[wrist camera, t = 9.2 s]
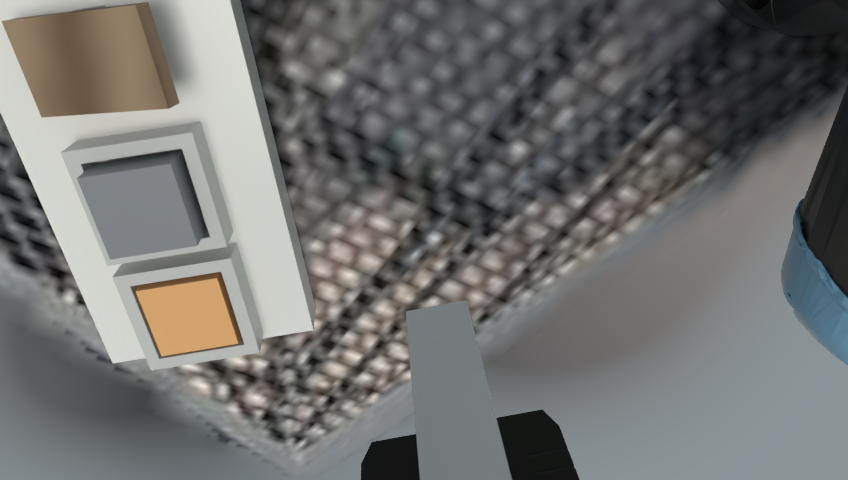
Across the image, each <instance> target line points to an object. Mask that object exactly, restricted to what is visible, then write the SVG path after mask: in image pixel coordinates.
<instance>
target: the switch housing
mask: <svg viewBox="0 0 848 480" xmlns="http://www.w3.org/2000/svg"><path fill="white" fill-rule="evenodd" d="M144 2H148V3H149V6H150V9H151V12H152V16H153V19H154V22H155V25H156V28H157V32H158V35H159V38H160V41H161V45H162V48H163V51H164V54H165V57H166V61H167V64H168V67H169V70H170V74H171V77H172V80H173V83H174V86H175V90H176V93H177V96H178V99H179V104H177V105H175V106H173V107H171V108H169V109H157V110H143V111H128V112H114V113H100V114H85V115H71V116H57V117H41V115H40V112H39V110H38V108H37V105H36V103H35V100H34V98H33V96H32V93H31V91H30V88H29V86H28V84H27V81H26V79H25V76H24V74H23V72H22V69H21V67H20V64H19V62H18V60H17V57H16V55H15V53H14V50H13V48H12V45H11V43H10V41H9V38H8V36H7V33H6V31H5V29H4V26H3V24H2V21H5V20H10V19H15V18H22V17H30V16H38V15H46V14H54V13H62V12H71V11H79V10H87V9H95V8H103V7H111V6H119V5H128V4H136V3H144ZM0 112H1V115H2V117H3V119H4V121H5V124H6V126H7V128H8V130H9V133H10V135H11V137H12V139H13V142H14V144H15V146H16V148H17V150H18V153H19V155H20V157H21V159H22V162H23V164H24V166H25V168H26V171H27V173H28V175H29V177H30V179H31V182H32V184H33V186H34V188H35V191H36V193H37V195H38V197H39V200H40V202H41V204H42V206H43V209H44V211H45V213H46V215H47V217H48V220H49V222H50V224H51V226H52V229H53V231H54V233H55V235H56V238H57V240H58V242H59V244H60V247H61V249H62V251H63V253H64V255H65V258H66V260H67V262H68V264H69V267H70V269H71V271H72V273H73V276H74V278H75V280H76V282H77V284H78V287H79V289H80V291H81V293H82V296H83V298H84V300H85V302H86V305H87V307H88V309H89V311H90V314H91V316H92V318H93V320H94V322H95V325H96V327H97V329H98V331H99V334H100V336H101V338H102V340H103V343H104V345H105V347H106V349H107V351H108V354H109V356H110V358H111V360H112V363H118V362H124V361H130V360H136V359H142V358H146V360H147V362H148V365H149V367H150V370H151V371H152V370H158V369H164V368H170V367H176V366H182V365H188V364H194V363H200V362H206V361H212V360H218V359H224V358H230V357H236V356H242V355H248V354H254V353H260V348H261V344H262V339H263V338H268V337H274V336H280V335H286V334H292V333H298V332H305V331H311V330H314V319H315V308H316V306H315V302H314V298H313V294H312V290H311V286H310V282H309V278H308V274H307V270H306V266H305V262H304V258H303V253H302V249H301V245H300V241H299V237H298V233H297V229H296V225H295V221H294V217H293V213H292V209H291V205H290V201H289V197H288V192H287V188H286V184H285V180H284V176H283V172H282V168H281V164H280V160H279V156H278V152H277V148H276V144H275V140H274V135H273V131H272V127H271V123H270V119H269V115H268V111H267V107H266V103H265V99H264V95H263V91H262V87H261V83H260V79H259V74H258V70H257V66H256V62H255V58H254V54H253V50H252V46H251V42H250V38H249V34H248V30H247V26H246V22H245V17H244V13H243V9H242V5H241V1H240V0H0ZM178 150H182V153H183V156H184V159H185V162H186V165H187V168H188V172H189V175H190V178H191V181H192V184H193V187H194V190H195V193H196V197H197V200H198V203H199V206H200V209H201V212H202V215H203V218H204V222H205V225H206V230H205V232H204V234H203V236H202V238H201V240H200V242H199V244H198V246H193V247H187V248H181V249H174V250H168V251H162V252H155V253H149V254H143V255H137V256H130V257H124V258H118V259H112V260H110V258H109V256H108V253H107V251H106V248H105V246H104V244H103V241H102V239H101V236H100V234H99V231H98V229H97V227H96V224H95V222H94V219H93V217H92V214H91V212H90V209H89V207H88V205H87V202H86V200H85V197H84V195H83V192H82V190H81V188H80V185H79V183H78V180H77V178H78V177H79V176H80V175H81V174H82V173H83V172H85V171H86V170H87V169H88V168H89V167H90V166H91V165H92V164H94V163H100V162H107V161H113V160H120V159H126V158H133V157H139V156H146V155H152V154H159V153H165V152H172V151H178ZM216 272H221V273H222V276H223V279H224V282H225V285H226V288H227V291H228V295H229V298H230V301H231V304H232V307H233V310H234V313H235V317H236V320H237V323H238V326H239V329H240V332H241V336H240V339H239V343H238V344H233V345H227V346H221V347H215V348H209V349H203V350H197V351H191V352H185V353H179V354H173V355H167V356H161V354H160V351H159V349H158V346H157V344H156V341H155V339H154V336H153V334H152V331H151V329H150V326H149V324H148V321H147V319H146V316H145V314H144V311H143V309H142V306H141V304H140V301H139V299H138V296H137V294H136V290H137V288H138V287H139V285H142V284H148V283H154V282H161V281H167V280H173V279H179V278H185V277H192V276H198V275H204V274H210V273H216Z"/></svg>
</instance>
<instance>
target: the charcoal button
mask: <svg viewBox="0 0 848 480" xmlns="http://www.w3.org/2000/svg"><path fill="white" fill-rule="evenodd" d="M77 180H78V183H79V185H80V188H81V190H82V192H83V195H84V197H85V200H86V202H87V205H88V207H89V209H90V212H91V214H92V217H93V219H94V222H95V224H96V227H97V229H98V231H99V234H100V236H101V239H102V241H103V244H104V246H105V248H106V251H107V253H108V256H109V258H110V260H112V259H118V258H124V257H130V256H137V255H143V254H149V253H155V252H162V251H168V250H174V249H181V248H187V247H193V246H198V244H199V242H200V240H201V238H202V236H203V234H204V232H205V230H206V225H205V222H204V218H203V215H202V212H201V209H200V206H199V203H198V200H197V197H196V193H195V190H194V187H193V184H192V181H191V178H190V175H189V172H188V168H187V165H186V162H185V159H184V156H183V153H182V150H178V151H172V152H165V153H159V154H152V155H146V156H139V157H133V158H126V159H120V160H113V161H107V162H100V163H94V164H92V165H91V166H90V167H89V168H88V169H87V170H86V171H85V172H83V173H82V174H81V175H80V176H79V177H78V178H77Z"/></svg>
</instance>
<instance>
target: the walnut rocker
mask: <svg viewBox="0 0 848 480" xmlns="http://www.w3.org/2000/svg"><path fill="white" fill-rule="evenodd" d="M2 24H3V26H4V29H5V31H6V33H7V36H8V38H9V41H10V43H11V45H12V48H13V50H14V53H15V55H16V57H17V60H18V62H19V64H20V67H21V69H22V72H23V74H24V76H25V79H26V81H27V84H28V86H29V88H30V91H31V93H32V96H33V98H34V100H35V103H36V105H37V108H38V110H39V112H40V115H41V117H57V116H71V115H85V114H100V113H114V112H128V111H143V110H157V109H169V108H171V107H173V106H175V105H177V104H179V99H178V96H177V93H176V90H175V86H174V83H173V80H172V77H171V74H170V70H169V67H168V64H167V61H166V57H165V54H164V51H163V48H162V45H161V41H160V38H159V35H158V32H157V28H156V25H155V22H154V19H153V16H152V12H151V9H150V6H149V3H148V2H144V3H136V4H128V5H119V6H111V7H103V8H95V9H87V10H79V11H71V12H62V13H54V14H46V15H38V16H30V17H22V18H15V19H10V20H5V21H2Z"/></svg>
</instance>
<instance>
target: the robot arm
mask: <svg viewBox="0 0 848 480" xmlns="http://www.w3.org/2000/svg"><path fill="white" fill-rule="evenodd" d="M719 1H720V2H721V3H722V5H723V6H724V7H725V8H726V9H727V10H728V11H730V12H731V13H732V14H733V15H734V16H736V17H737V18H739V19H740V20H742V21H744V22H745V23H747V24H750V25H752V26H754V27H757V28H760V29H765V30H769V31H773V32H778V33H782V34H787V35H797V36H812V35H823V34H828V33H833V32H837V31H841V30H845V29H848V0H719ZM793 226H794V228H793V232H792V235H791V239H790V242H789V245H788V249H787V252H786V255H785V259H784V261H783V264H782V269H781V283H782V289H783V292H784V295H785V297H786V299H787V301H788V303H789V304H790V305H791V306H792V308H793V309H794V314H795V315H796V317H797V319H798V320H799V321H800V322H801V324H802V325H803V326H804V327H805V328H806V330H807V331H808V332H809V333H810V334H811V335H812V336H813V337H814V338H815V339H816V340H817V341H818V342H819V343H820V344H822V345H823V346H824V347H825V348H826V349H827V350H828V351H830V352H831V353H832V354H833V355H835V356H836V357H837V358H839V359H840V360H841V361H843V362H844V363H846V364H847V365H848V86H847V88H846V91H845V93H844V96H843V99H842V101H841V104H840V107H839V109H838V112H837V115H836V117H835V120H834V122H833V125H832V128H831V130H830V133H829V136H828V138H827V141H826V143H825V146H824V149H823V151H822V154H821V157H820V159H819V162H818V164H817V167H816V170H815V172H814V175H813V178H812V180H811V183H810V186H809V188H808V191H807V193H806V196H805V198H804V199H802V200H801V201H800V202H799V204H798V206H797V207H796V211H795V214H794V219H793ZM406 320H407V332H408V344H409V356H410V367H411V379H412V391H413V403H414V415H415V427H416V434H415V435H409V436H403V437H398V438H392V439H387V440H381V441H376V442H372V443H371V445H370V447H369V449H368V451H367V453H366V455H365V457H364V459H363V462H362V463H361V480H579V477H578V475H577V472H576V469H575V468H574V464H573V462H572V459H571V456H570V453H569V451H568V449H567V446H566V443H565V440H564V438H563V435H562V432H561V430H560V427H559V426H558V424H556V423H555V422H554V421H553V420H552V419H551V418H550V417H549V416H548V415H547V414H546V413H545V412H544V411H543V410H538V411H532V412H527V413H521V414H516V415H510V416H505V417H499V418H496V415H495V411H494V407H493V403H492V399H491V395H490V391H489V387H488V384H487V379H486V375H485V371H484V368H483V364H482V360H481V356H480V352H479V348H478V344H477V340H476V336H475V332H474V328H473V324H472V320H471V316H470V312H469V308H468V305H467V301H466V300H465V301H460V302H455V303H449V304H444V305H438V306H433V307H427V308H422V309H417V310H411V311H406Z"/></svg>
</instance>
